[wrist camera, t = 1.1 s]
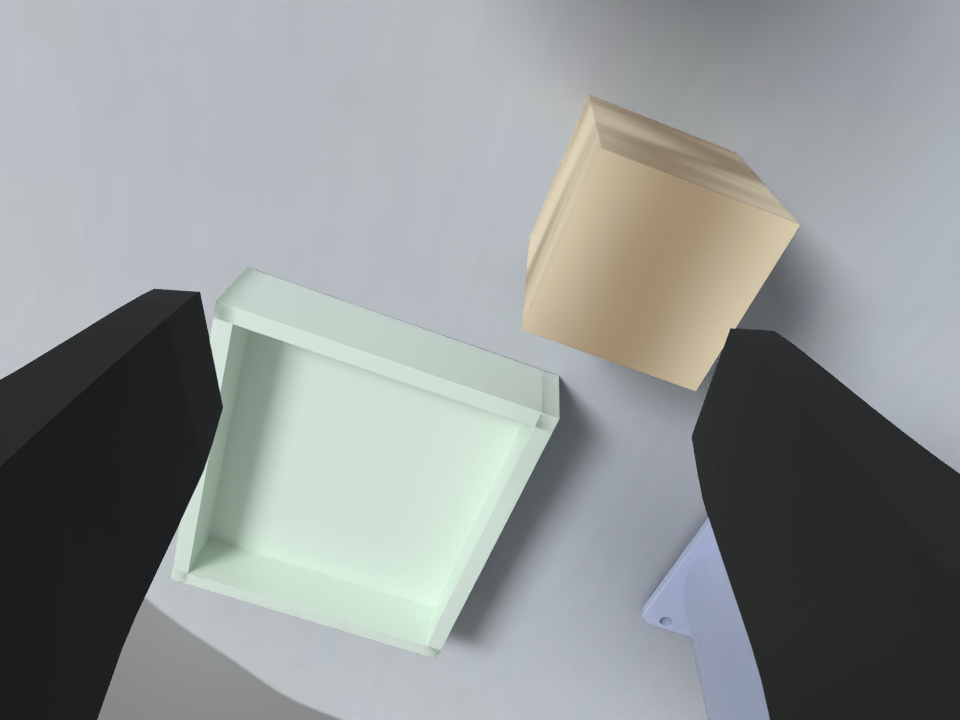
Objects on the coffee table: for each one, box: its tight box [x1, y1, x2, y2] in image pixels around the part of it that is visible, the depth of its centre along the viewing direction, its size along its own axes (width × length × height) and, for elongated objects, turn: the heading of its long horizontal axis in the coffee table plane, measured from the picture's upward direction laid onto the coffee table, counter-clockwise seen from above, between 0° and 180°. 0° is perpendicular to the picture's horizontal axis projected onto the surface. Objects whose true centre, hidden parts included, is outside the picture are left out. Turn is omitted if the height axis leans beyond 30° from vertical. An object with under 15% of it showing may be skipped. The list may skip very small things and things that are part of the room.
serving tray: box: [171, 268, 560, 658], centre depth 26 cm, size 11×13×2 cm
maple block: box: [522, 95, 800, 391], centre depth 18 cm, size 4×4×6 cm
